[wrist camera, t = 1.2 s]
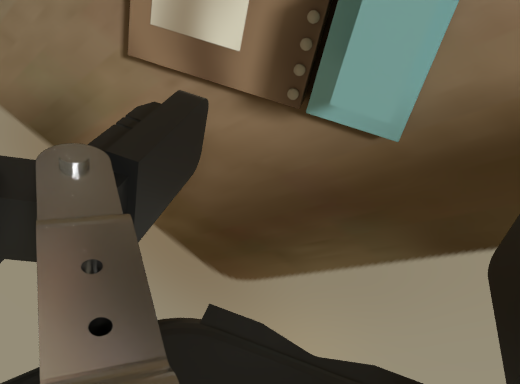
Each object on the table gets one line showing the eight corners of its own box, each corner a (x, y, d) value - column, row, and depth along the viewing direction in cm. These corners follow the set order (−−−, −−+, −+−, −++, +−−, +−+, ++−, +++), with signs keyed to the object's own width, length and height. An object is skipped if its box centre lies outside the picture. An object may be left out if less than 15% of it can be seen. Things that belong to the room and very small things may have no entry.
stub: (496, -100, 23) (523, -96, 17) (399, 131, 31) (393, 191, 25) (378, -129, 24) (363, -136, 18) (310, 103, 32) (283, 155, 25)
